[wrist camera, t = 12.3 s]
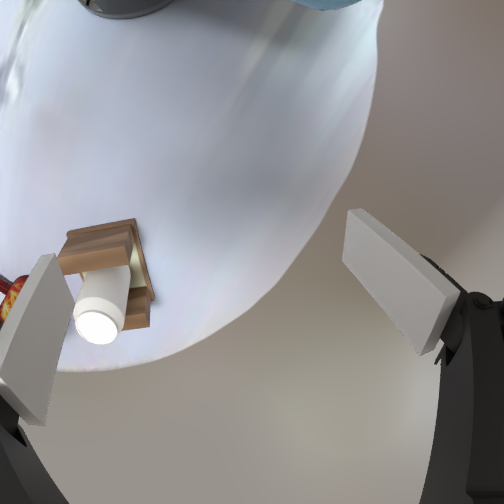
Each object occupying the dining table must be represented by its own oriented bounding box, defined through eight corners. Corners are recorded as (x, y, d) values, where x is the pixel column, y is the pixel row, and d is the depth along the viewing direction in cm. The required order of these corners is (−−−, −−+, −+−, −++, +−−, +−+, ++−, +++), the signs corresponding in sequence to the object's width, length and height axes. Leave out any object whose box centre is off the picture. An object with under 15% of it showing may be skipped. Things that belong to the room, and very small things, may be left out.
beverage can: (83, 275, 39) (63, 334, 29) (100, 242, 37) (80, 298, 27) (120, 294, 42) (110, 355, 32) (139, 264, 40) (132, 323, 30)
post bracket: (68, 231, 36) (52, 256, 30) (134, 218, 38) (128, 243, 32) (95, 304, 43) (87, 335, 37) (154, 296, 45) (153, 327, 39)
